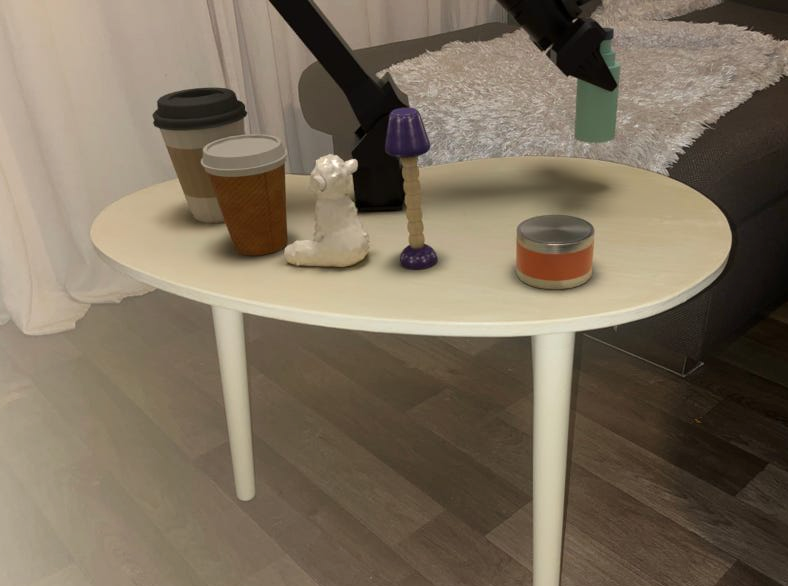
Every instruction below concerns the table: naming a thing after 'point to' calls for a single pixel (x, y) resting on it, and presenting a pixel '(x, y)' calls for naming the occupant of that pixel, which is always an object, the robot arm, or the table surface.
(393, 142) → the toy lamp
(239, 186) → the disposable coffee cup
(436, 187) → the table surface
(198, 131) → the coffee cup
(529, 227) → the can
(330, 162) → the white creature statuette
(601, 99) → the bottle
